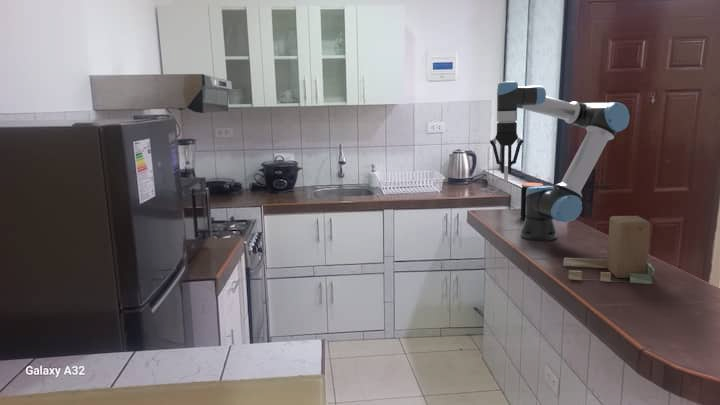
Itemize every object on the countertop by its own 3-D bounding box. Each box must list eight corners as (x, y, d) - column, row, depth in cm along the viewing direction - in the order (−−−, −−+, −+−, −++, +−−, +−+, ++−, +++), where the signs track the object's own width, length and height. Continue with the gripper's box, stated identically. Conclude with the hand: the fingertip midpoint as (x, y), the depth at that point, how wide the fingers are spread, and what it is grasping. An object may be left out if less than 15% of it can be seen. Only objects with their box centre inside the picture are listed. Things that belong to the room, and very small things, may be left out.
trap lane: (563, 265, 182) (564, 252, 181) (641, 268, 175) (642, 255, 174) (568, 279, 168) (569, 265, 167) (653, 283, 160) (654, 269, 160)
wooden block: (647, 279, 165) (651, 222, 161) (616, 279, 166) (619, 222, 162) (635, 269, 175) (638, 215, 171) (605, 269, 176) (608, 215, 172)
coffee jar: (545, 220, 248) (546, 185, 245) (524, 221, 249) (525, 186, 245) (538, 215, 259) (539, 182, 255) (517, 216, 259) (518, 183, 255)
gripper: (523, 121, 192) (522, 179, 197) (489, 122, 196) (489, 179, 201) (524, 122, 185) (523, 183, 190) (489, 123, 189) (488, 182, 193)
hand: (505, 181), depth 195 cm, fingers closed
